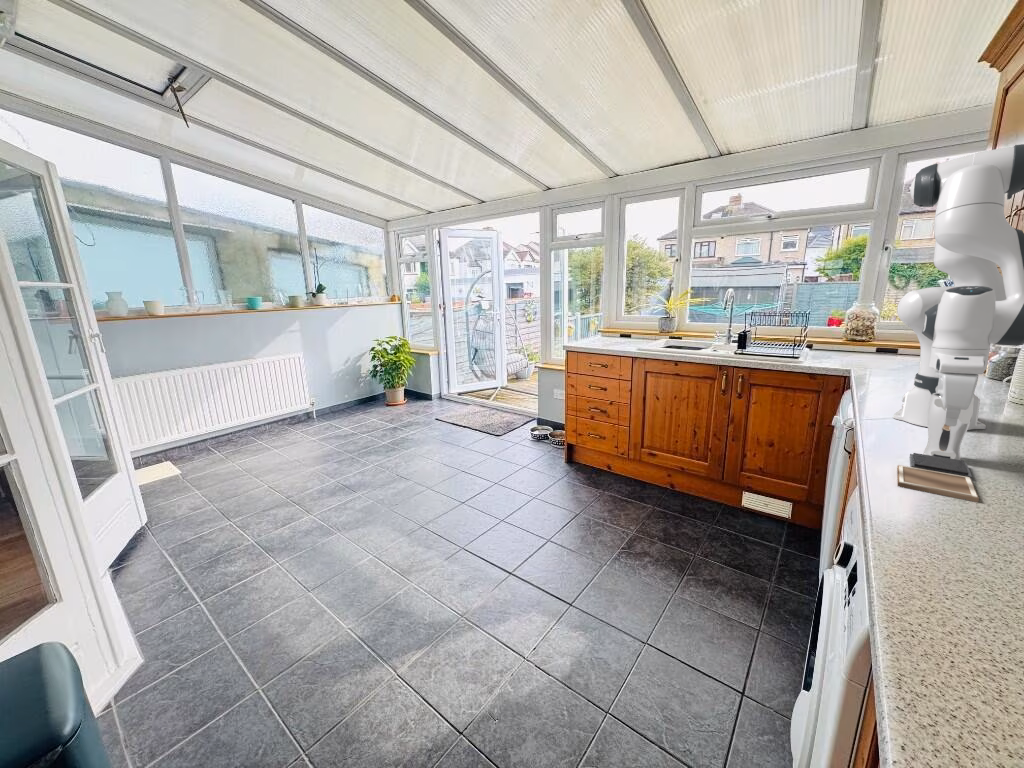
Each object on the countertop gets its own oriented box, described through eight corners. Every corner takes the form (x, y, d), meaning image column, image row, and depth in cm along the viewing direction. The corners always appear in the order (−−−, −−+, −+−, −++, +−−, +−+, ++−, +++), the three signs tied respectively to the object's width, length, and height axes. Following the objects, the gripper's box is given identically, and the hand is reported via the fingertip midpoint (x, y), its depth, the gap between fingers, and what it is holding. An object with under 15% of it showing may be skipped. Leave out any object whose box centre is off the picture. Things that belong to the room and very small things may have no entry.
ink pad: (909, 457, 97) (910, 451, 97) (965, 466, 91) (966, 460, 91) (910, 470, 91) (911, 463, 90) (971, 481, 85) (972, 474, 84)
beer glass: (972, 464, 92) (985, 399, 89) (935, 462, 94) (946, 399, 91) (946, 452, 99) (958, 392, 96) (912, 451, 100) (922, 392, 97)
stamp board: (897, 468, 92) (897, 464, 91) (970, 481, 84) (970, 477, 84) (897, 486, 84) (898, 481, 84) (978, 502, 76) (979, 497, 76)
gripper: (934, 355, 101) (926, 409, 104) (941, 365, 86) (931, 428, 89) (972, 356, 97) (962, 413, 99) (986, 367, 82) (974, 433, 85)
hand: (948, 420), depth 94 cm, fingers open, 8 cm apart
